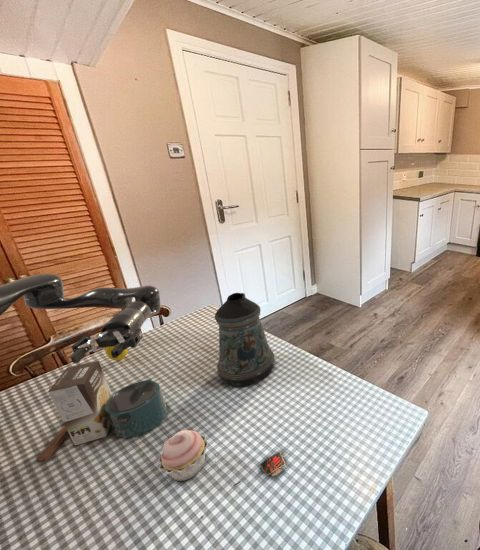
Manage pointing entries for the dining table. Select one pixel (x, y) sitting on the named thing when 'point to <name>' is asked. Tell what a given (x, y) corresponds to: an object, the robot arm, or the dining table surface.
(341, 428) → the dining table surface
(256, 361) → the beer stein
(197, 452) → the cupcake
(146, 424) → the enamel pot
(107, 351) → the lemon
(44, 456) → the wooden spoon
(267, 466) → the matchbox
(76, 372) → the coffee box
